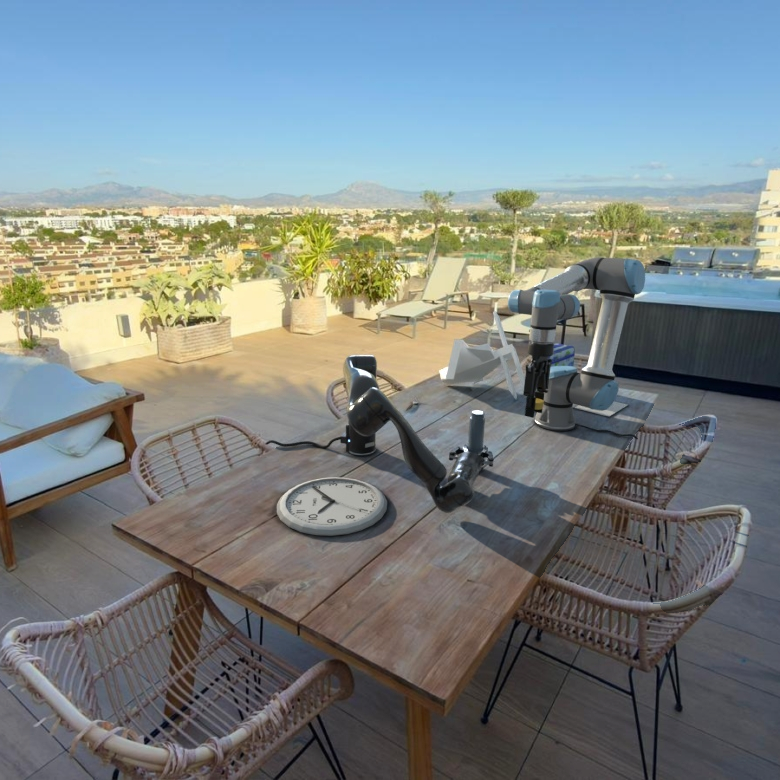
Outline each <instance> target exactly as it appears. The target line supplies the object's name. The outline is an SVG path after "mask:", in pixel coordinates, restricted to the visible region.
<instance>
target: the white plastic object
mask: <svg viewBox="0 0 780 780" xmlns="http://www.w3.org/2000/svg"><path fill="white" fill-rule="evenodd" d="M492 315H493V319H494V321H495V324H496V325H495V326H496V328H497V332H498V335H499V338H500V342H501V345H502V347H500V348H498V349H496V350H495V349H493V348H492V347H491V346H490V344H489V343H488V342H487V343H483V344H479V345H473V346H469V345H468V343H466V342H465V340H464V339H463V338H460V339H458V338H454V340H453V344H452V349H451V353H450V357H449V362H448V366H446V367H444V368H442V369H440V370H439V371H438V372H439V376H440V381H442V383H443V384H444V385H445V386H449V385H458V384H467V383H468V384H469V383H473V384H477V383H480V382H482V381H484V378H485V377H486V376H487V375H489V374H490V373H492V372H494V371H495V370H496V369H497V368H499V367H500V366H502V370H503V373H504V376H505V380H506V383H507V386H508V390H509V393H510V394H511V395H512V397H513V398H514V399H515V400H517V392H516V391H517V390H516V388H515V385H514V381H513V378H512V375H511V371H510V369H509V365H508V361H510V360H513V363H514V366H515V369H516V372H517V376H518V380H519V382H520V385H521V389H522V391H523V392H524V384H525V375H524V371H523V369H522V368H523V367H522V366H521V362H520V359H519V355H518V352H517V349H516V347H515V346H514V345H513V343H511V344H508V341H507V337H506V334H505V331H504V328H503V325H502V321H501V318H500V315H499V314H498V312H497V311H496V310H495V311H492Z"/></svg>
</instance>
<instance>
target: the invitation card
mask: <svg viewBox="0 0 780 780" xmlns="http://www.w3.org/2000/svg"><path fill="white" fill-rule="evenodd" d="M628 406H629V404H627V403H623V402H618V401H614V402H613V404H612V405H611V406H610V407H609V408H608V409H606V410H603V411H600V410H595V409H590V408H588V407H584V406H580V405H575V406H574V407H573V409H575V410H581V411H584V412H587V413H593V414H596V415H600V416H604V417H608V418H609V417H611V416H613V415H614V414H616V413H617V412H619V411H621V410H623V409H624V408H626V407H628Z"/></svg>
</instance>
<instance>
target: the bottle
mask: <svg viewBox="0 0 780 780" xmlns="http://www.w3.org/2000/svg"><path fill="white" fill-rule="evenodd" d="M468 426H469V427H468V441H467V443H468V452H473V453H476V452H478V451H482V449H483V447H484V442H485V441H484V438H485V429H486V427H485V426H486V418H485V412H484V411H482V410H478V409H477V410H472V411H471V416H470V417H469V425H468ZM481 471H482V468H481V469H480V472H481Z"/></svg>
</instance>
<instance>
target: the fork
mask: <svg viewBox="0 0 780 780" xmlns="http://www.w3.org/2000/svg"><path fill="white" fill-rule="evenodd" d="M420 399H421V397H420V396H415V397H414V398H413V400H412V404H410V405H408V407H407V408H406V410H405V411H409V410H411V409H412V408H413V406H414V405H415V404H419V402H420Z"/></svg>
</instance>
